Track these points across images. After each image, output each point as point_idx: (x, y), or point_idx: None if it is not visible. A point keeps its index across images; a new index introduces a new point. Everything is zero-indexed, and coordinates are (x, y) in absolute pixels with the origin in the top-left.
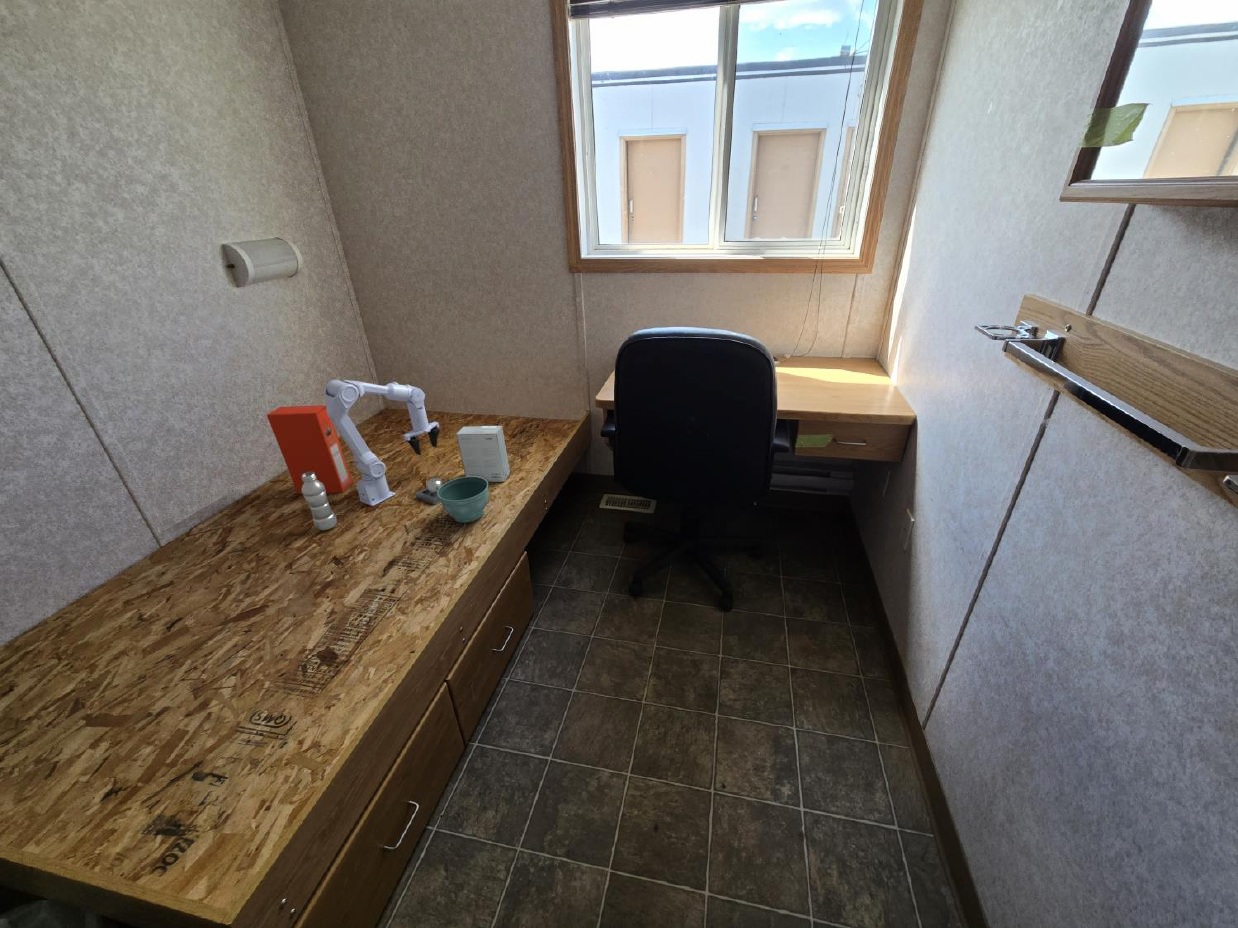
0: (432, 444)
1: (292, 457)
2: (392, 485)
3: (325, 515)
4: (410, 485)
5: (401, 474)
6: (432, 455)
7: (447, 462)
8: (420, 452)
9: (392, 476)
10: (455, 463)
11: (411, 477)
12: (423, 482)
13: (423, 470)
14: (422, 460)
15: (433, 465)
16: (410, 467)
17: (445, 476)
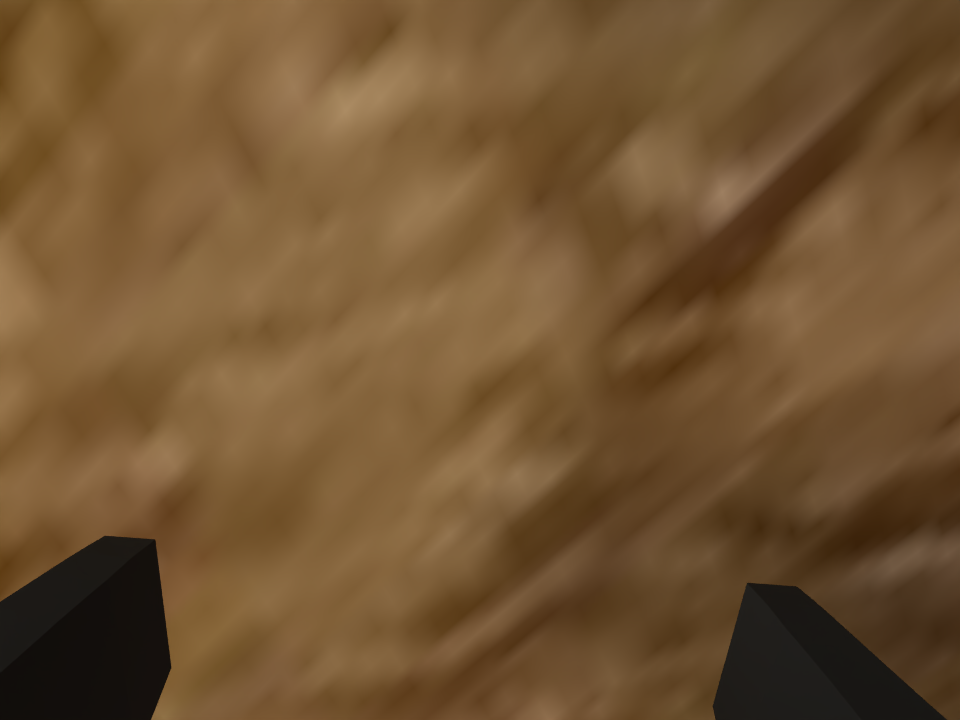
0: (132, 704)
1: None
2: (948, 555)
3: None
4: (901, 342)
5: (662, 659)
6: None
7: (114, 378)
8: (792, 626)
9: None
10: (57, 234)
11: (689, 502)
12: (770, 230)
13: (466, 505)
14: (270, 698)
15: (292, 490)
16: (475, 692)
17: (471, 26)
